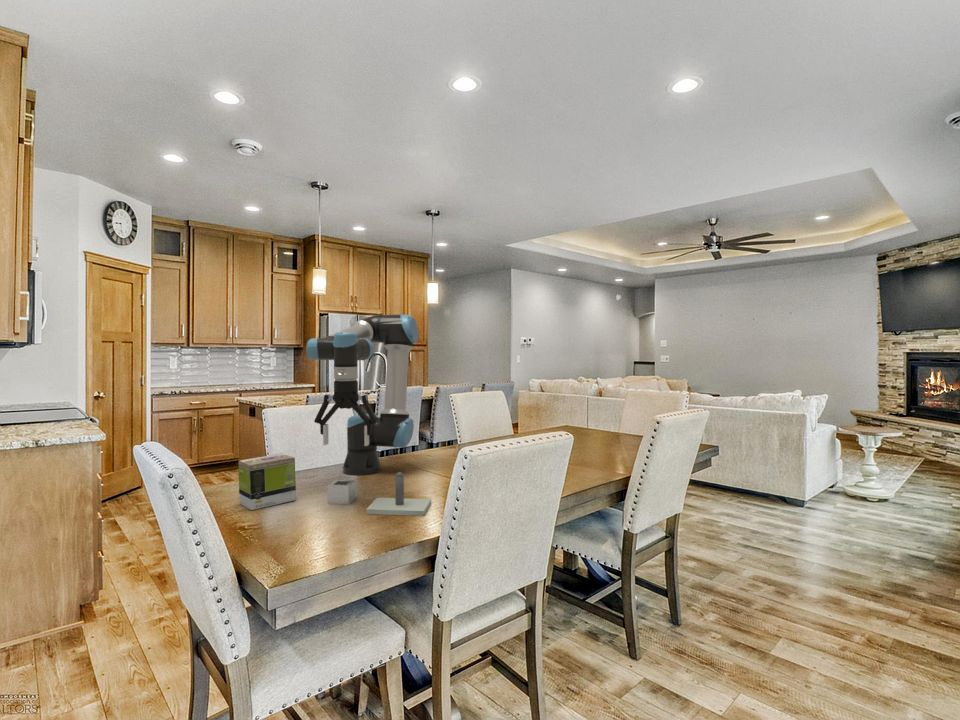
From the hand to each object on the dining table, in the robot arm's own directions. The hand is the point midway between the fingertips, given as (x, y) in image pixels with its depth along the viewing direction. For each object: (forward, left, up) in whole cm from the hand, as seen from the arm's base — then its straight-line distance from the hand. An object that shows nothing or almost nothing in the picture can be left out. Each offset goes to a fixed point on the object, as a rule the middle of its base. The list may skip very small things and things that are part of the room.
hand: (346, 444), depth 170 cm
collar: (-3, -3, -19) cm, 20 cm away
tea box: (+1, -26, -20) cm, 33 cm away
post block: (+3, +18, -19) cm, 27 cm away
